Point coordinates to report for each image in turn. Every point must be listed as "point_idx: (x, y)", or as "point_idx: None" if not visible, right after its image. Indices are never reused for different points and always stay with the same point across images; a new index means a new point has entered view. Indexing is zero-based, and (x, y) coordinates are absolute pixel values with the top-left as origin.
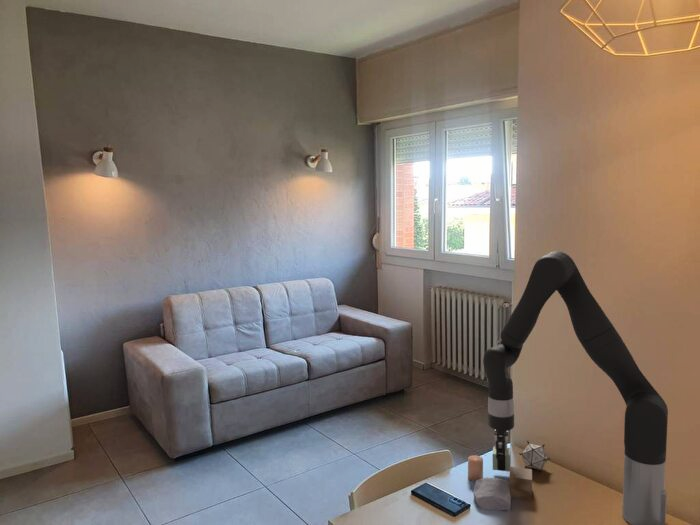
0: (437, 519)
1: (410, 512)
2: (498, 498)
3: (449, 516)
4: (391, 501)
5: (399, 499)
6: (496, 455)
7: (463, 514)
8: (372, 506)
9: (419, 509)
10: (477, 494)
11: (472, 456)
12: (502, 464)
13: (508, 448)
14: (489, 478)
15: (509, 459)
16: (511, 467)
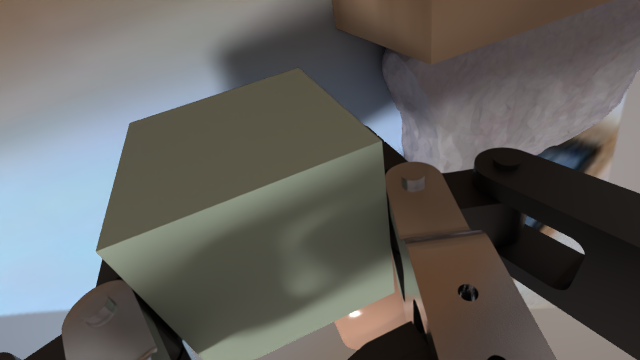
0: (608, 178)
1: (572, 242)
2: None
3: (600, 159)
4: (529, 294)
5: (520, 290)
6: (543, 245)
7: (595, 128)
8: (547, 302)
9: (562, 236)
10: (563, 138)
11: (365, 340)
12: (387, 151)
13: (144, 262)
14: (459, 154)
15: (354, 122)
16: (447, 42)
